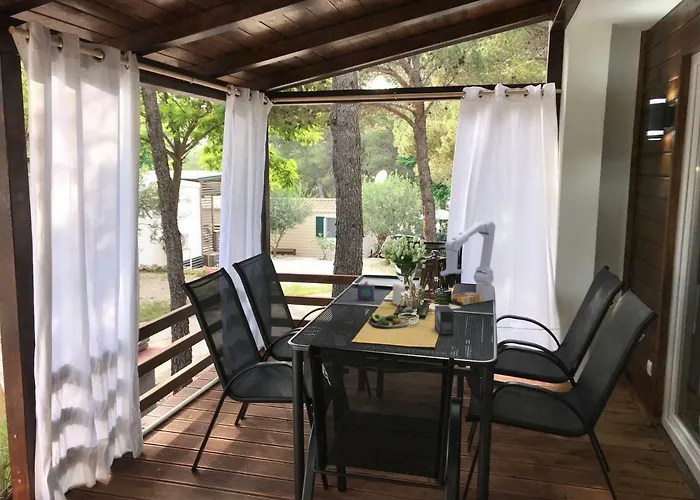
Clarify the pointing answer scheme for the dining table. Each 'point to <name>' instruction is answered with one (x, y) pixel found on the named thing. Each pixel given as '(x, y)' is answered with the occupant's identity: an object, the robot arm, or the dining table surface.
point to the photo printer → (397, 292)
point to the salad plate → (386, 321)
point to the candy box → (466, 298)
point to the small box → (444, 320)
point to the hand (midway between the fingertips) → (450, 287)
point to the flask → (366, 292)
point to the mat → (432, 305)
